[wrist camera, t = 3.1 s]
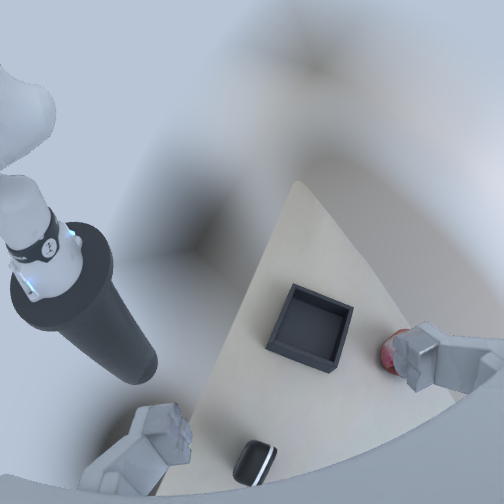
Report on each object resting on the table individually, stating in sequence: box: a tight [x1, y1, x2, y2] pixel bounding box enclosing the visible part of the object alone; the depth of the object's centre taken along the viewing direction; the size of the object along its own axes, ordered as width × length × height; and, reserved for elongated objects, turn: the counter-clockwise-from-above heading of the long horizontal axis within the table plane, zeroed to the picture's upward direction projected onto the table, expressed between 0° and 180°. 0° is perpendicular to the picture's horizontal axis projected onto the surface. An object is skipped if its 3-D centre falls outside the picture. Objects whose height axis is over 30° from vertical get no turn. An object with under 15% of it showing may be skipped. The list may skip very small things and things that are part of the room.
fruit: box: [381, 329, 410, 376], centre depth 46 cm, size 9×10×10 cm
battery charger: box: [233, 441, 277, 487], centre depth 33 cm, size 7×4×11 cm, turn 157°
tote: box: [265, 283, 354, 373], centre depth 51 cm, size 13×13×4 cm
